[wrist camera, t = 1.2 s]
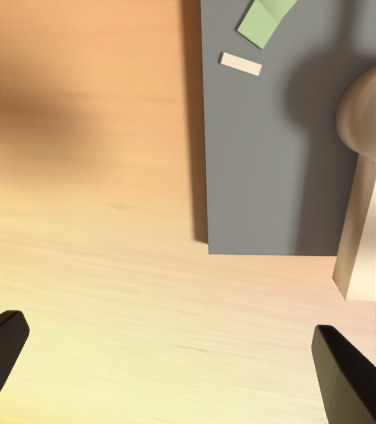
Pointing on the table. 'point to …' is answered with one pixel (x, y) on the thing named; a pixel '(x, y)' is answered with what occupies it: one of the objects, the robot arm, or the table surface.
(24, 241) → the table surface
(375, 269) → the beige dial pointer lever
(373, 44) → the grey flat square plate
